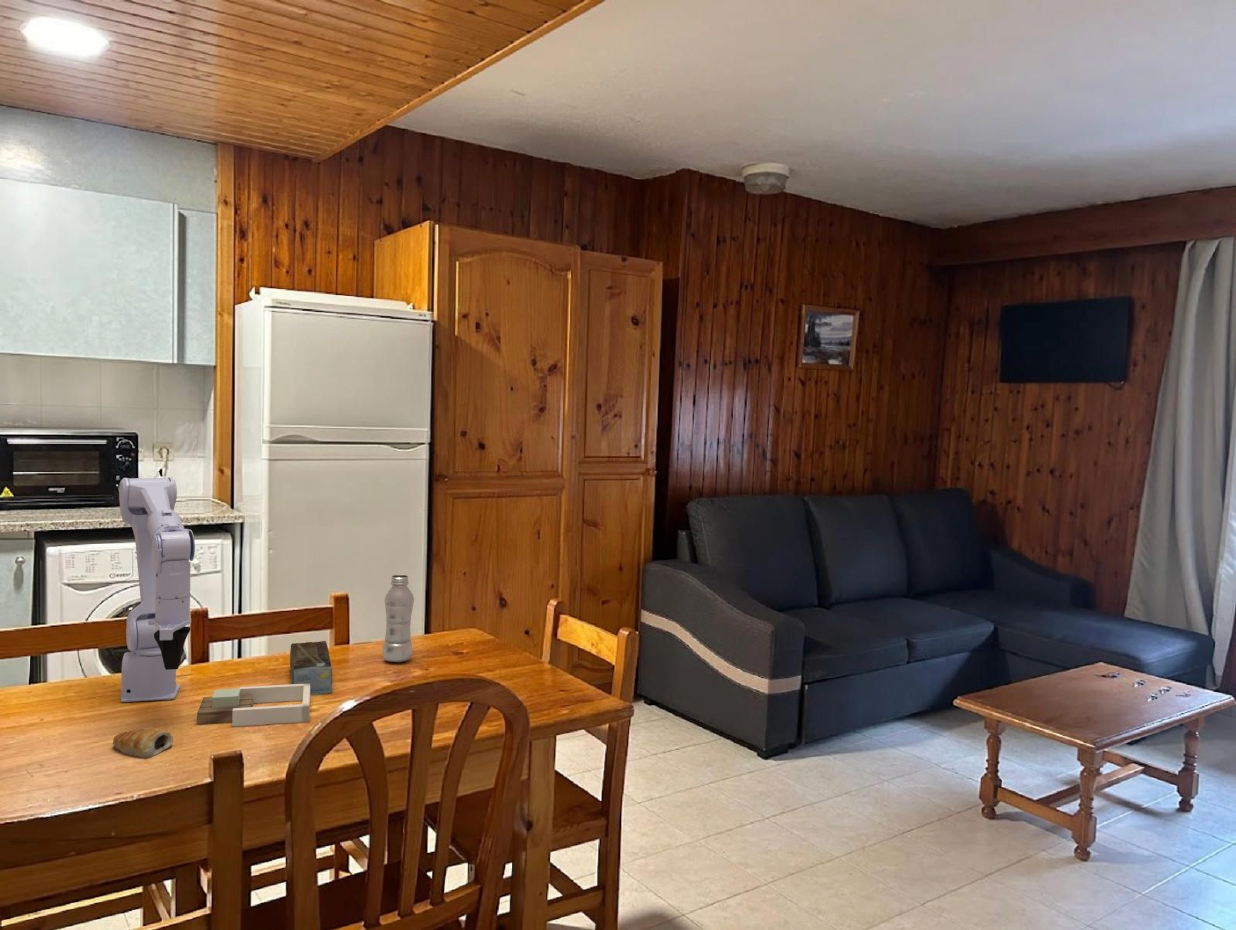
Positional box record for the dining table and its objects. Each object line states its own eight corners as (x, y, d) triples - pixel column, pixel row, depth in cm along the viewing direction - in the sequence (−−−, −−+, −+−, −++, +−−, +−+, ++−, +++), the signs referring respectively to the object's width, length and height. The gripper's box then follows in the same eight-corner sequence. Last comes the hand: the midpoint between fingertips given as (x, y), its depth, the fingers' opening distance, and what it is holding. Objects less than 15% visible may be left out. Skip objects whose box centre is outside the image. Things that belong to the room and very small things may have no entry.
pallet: (196, 728, 162) (196, 713, 162) (202, 711, 171) (202, 696, 171) (249, 724, 165) (249, 709, 165) (253, 708, 174) (253, 694, 173)
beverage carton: (291, 697, 179) (291, 665, 179) (289, 670, 197) (289, 640, 197) (332, 694, 182) (333, 663, 182) (326, 667, 200) (327, 638, 200)
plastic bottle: (384, 657, 209) (386, 573, 207) (413, 657, 210) (416, 573, 208) (380, 665, 202) (382, 578, 201) (410, 665, 203) (413, 579, 202)
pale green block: (211, 708, 165) (212, 697, 165) (214, 700, 169) (214, 689, 169) (238, 706, 166) (238, 696, 166) (240, 698, 171) (240, 688, 170)
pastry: (101, 753, 149) (101, 730, 148) (132, 738, 155) (133, 717, 155) (148, 761, 146) (148, 738, 146) (178, 746, 153) (178, 724, 153)
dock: (232, 726, 162) (232, 710, 162) (239, 702, 175) (239, 687, 175) (308, 721, 166) (309, 705, 166) (309, 697, 179) (310, 683, 179)
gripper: (155, 588, 169) (155, 657, 170) (140, 605, 155) (140, 681, 156) (196, 587, 171) (195, 656, 172) (185, 604, 157) (184, 679, 158)
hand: (172, 668), depth 164 cm, fingers closed
